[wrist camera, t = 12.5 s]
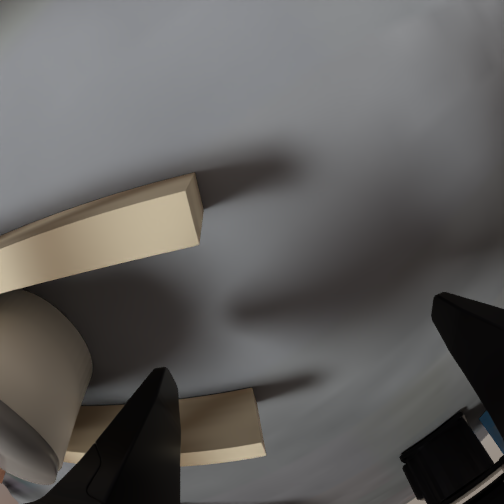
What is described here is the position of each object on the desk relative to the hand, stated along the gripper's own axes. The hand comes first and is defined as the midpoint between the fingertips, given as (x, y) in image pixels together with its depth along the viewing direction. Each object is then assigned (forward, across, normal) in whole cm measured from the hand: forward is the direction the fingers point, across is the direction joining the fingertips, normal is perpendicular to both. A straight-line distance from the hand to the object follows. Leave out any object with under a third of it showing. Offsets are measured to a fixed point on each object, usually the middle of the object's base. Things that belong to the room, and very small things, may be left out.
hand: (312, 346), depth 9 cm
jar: (+2, +12, 0) cm, 12 cm away
